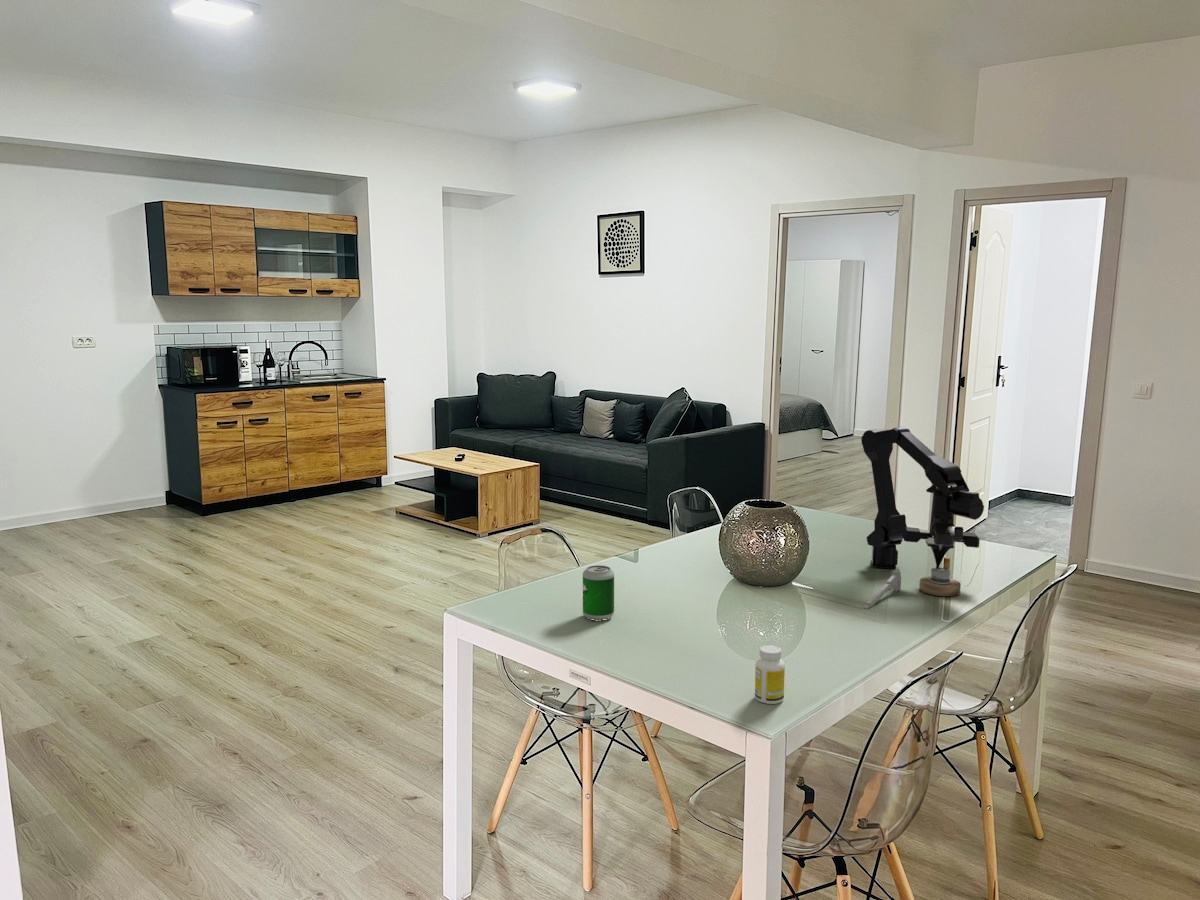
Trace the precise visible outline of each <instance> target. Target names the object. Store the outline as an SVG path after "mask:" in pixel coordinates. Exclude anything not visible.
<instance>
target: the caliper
mask: <svg viewBox="0 0 1200 900" xmlns="http://www.w3.org/2000/svg"><path fill="white" fill-rule="evenodd" d="M901 588H902V573H901V570H900V568H897V567H896V569H893V574H892V575H891V576H890V577H889V578H888V579H887V580H886V583H884V585H883V586H881V587H880V589H878V590H877V591H876V592H875V593H874V594H873V595H872V596H871V597H870V598H869V599H868V600H867V601H866V602H865V605H864V606H863V609H867V610H869V608H872V607H873V606H874V605H876V603H877V602H878V601H879V600H881V599H882V597H884V595H885V594H887V592H891V591H893V592H896V591H900V590H901Z"/></svg>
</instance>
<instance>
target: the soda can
mask: <svg viewBox="0 0 1200 900" xmlns="http://www.w3.org/2000/svg"><path fill="white" fill-rule="evenodd" d="M582 614H583V616H585V618H586V617H587V618H589V619H594V620H603V619H608V618H610V617H613V616H614V614H615V572H614V570H612V569H611V567H610V566H607V565H602V564H601V565H598V564H597V565H590V566H588V567H586V569H585V570H584V571H582ZM587 618H586V619H587ZM610 619H611V618H610Z"/></svg>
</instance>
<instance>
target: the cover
mask: <svg viewBox="0 0 1200 900" xmlns="http://www.w3.org/2000/svg"><path fill="white" fill-rule="evenodd" d="M930 570H931V573H930V576H931V578H930V582H931V583H934V584H938V585H949V584H951V580H950V579H951V569H950V570H949V569H946V568H943V567H939V568H936V567H932V568H931V569H930Z"/></svg>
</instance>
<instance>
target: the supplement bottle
mask: <svg viewBox="0 0 1200 900" xmlns="http://www.w3.org/2000/svg"><path fill="white" fill-rule="evenodd" d="M781 658H782V649H781V647H779V646H775V645H762V646H761V647H759V658H758V659H756V661H755V674H754V675H755V677H754V679H755V680H754V697H755V699H756V701H758V702H760V703H762V704H768V705H777V704H780V703H782V702H783V700H784V699H785V698H784V697H785V675H786V674H785V671H786V670H785V669H786V668H785V667H786V666H785V662H784V660H782V659H781Z"/></svg>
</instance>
